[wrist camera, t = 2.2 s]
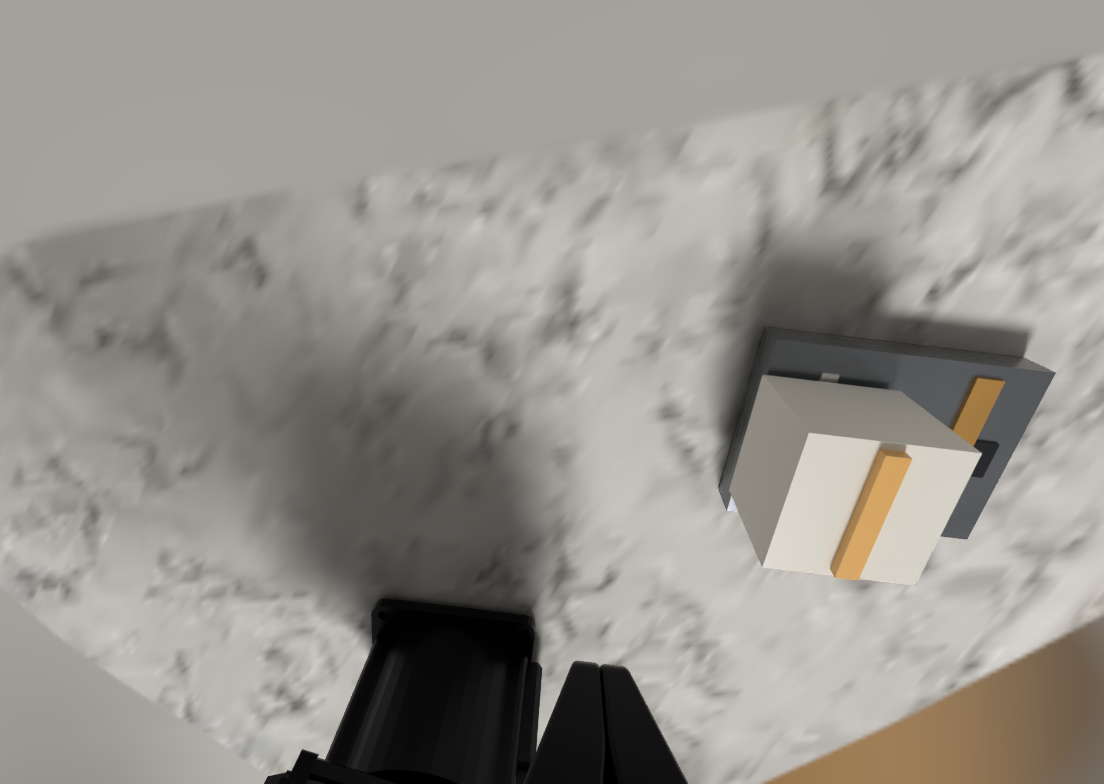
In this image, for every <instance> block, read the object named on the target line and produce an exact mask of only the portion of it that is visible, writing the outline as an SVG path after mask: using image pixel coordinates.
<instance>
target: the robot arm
mask: <svg viewBox="0 0 1104 784" xmlns="http://www.w3.org/2000/svg"><path fill="white" fill-rule="evenodd" d="M384 611H385V612H384ZM386 612H388V613H386ZM371 617H372V643H373V646H372V648H371V651H370V653H369V656H368V658H367V660H366V663H365V665H364V668H363V670H362V672H361V675H360V677H359V680H358V682H357V684H356V687H355V689H354V692H353V694H352V696H351V699H350V701H349V704H348V706H347V708H346V711H345V713H344V716H343V718H342V720H341V723H340V725H339V728H338V730H337V732H336V735H335V737H334V740H333V742H332V744H331V747H330V749H329V752H328V754H327V756H326V759H325V760H324V759H321V758H318V755H319V754H317V753H313V752H310V751H307V750H304V749H302V751H301V753H300V755H299V757H298V759H297V761H296V763H295V765H294V767H293V769H292V771H289V770H287V772H286V773H281V774H277V775H272V776H268V777H267V779H266V781H265V783H264V784H688V782H687V780H686V779H685V777H684V775H683V773H682V771H681V769H680V767H679V765H678V763H677V761H676V759H675V758H674V756H673V754H672V752H671V750H670V748H669V746H668V744H667V742H666V740H665V739H664V737H663V735H662V733H661V731H660V729H659V727H658V725H657V723H656V721H655V719H654V718H653V716H652V714H651V712H650V710H649V708H648V706H647V704H646V702H645V700H644V698H643V697H642V695H641V693H640V691H639V689H638V687H637V685H636V683H635V681H634V679H633V678H632V676H631V674H630V672H629V670H628V669H627V668H626V667H624V666H617V665H609V664H603V665H601V666H600V667H599V665H598V664H596V663H592V662H584V661H575V662H573V664H572V666H571V668H570V670H569V673H568V675H567V678H566V680H565V683H564V685H563V687H562V690H561V692H560V695H559V697H558V700H557V702H556V705H555V707H554V710H553V712H552V714H551V717H550V719H549V722H548V724H547V727H546V729H545V732H544V734H543V737H542V739H541V741H540V744H539V746H538V749H537V751H536V745H537V732H538V718H539V705H540V691H541V678H542V667H541V666H540V664H539V663H538V662H533V661H531V658H532V651H533V643H534V635H535V621H534V620H533V619H532V618H531V617H529V616H526V615H519V614H511V613H502V612H494V611H486V610H477V609H469V608H460V607H452V606H443V605H435V604H427V603H418V602H410V601H401V600H393V599H381V600H378V601H377V602H376V604H375V606H374V608H373V610H372V614H371ZM521 628H526V629H521Z"/></svg>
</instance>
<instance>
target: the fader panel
mask: <svg viewBox="0 0 1104 784" xmlns="http://www.w3.org/2000/svg"><path fill="white" fill-rule="evenodd" d="M762 375H770V376H778V377H787V378H795V379H804V380H812V381H820V382H829V383H837V384H845V385H854V386H862V387H871V388H879V389H887V390H896V391H901V392H902V393H904V394H905V395H906V396H908V397H909V398H910V399H912V400H913V401H914V402H916V403H917V404H918V405H919V406H921V407H922V408H923V409H925V410H926V411H927V412H929V413H930V414H931V415H933V416H934V417H935V418H936V419H938V420H939V421H940V422H942V423H943V424H944V425H946V426H947V427H948V428H950V429H951V430H952V431H953V432H955V433H956V434H957V435H959V436H960V437H961V438H963V439H964V440H965V441H967V442H968V443H969V444H970V445H972V446H973V447H974V448H976V449H977V450H978V451H980V452H981V453H982V455H981V457H980V459H979V461H978V462H977V464H976V466H975V468H974V470H973V472H972V474H971V476H970V478H969V480H968V482H967V484H966V486H965V488H964V490H963V492H962V494H961V496H960V498H959V500H958V502H957V504H956V506H955V508H954V510H953V512H952V514H951V516H950V518H949V520H948V522H947V524H946V526H945V528H944V530H943V532H942V534H941V536H942V537H951V538H959V539H968V537H969V535H970V533H971V531H972V529H973V527H974V525H975V524H976V522H977V520H978V518H979V516H980V514H981V512H982V510H983V509H984V507H985V505H986V503H987V501H988V499H989V497H990V495H991V493H992V492H993V490H994V488H995V486H996V484H997V482H998V480H999V478H1000V477H1001V475H1002V473H1003V471H1004V469H1005V467H1006V465H1007V463H1008V462H1009V460H1010V458H1011V456H1012V454H1013V452H1014V450H1015V448H1016V447H1017V445H1018V443H1019V441H1020V439H1021V437H1022V435H1023V433H1024V432H1025V430H1026V428H1027V426H1028V424H1029V422H1030V420H1031V418H1032V416H1033V415H1034V413H1035V411H1036V409H1037V407H1038V405H1039V403H1040V401H1041V400H1042V398H1043V396H1044V394H1045V392H1046V390H1047V388H1048V386H1049V385H1050V383H1051V381H1052V379H1053V377H1054V375H1055V372H1053V371H1051V370H1049V369H1047V368H1045V367H1043V366H1041V365H1039V364H1037V363H1034V362H1032V361H1030V360H1028V359H1026V358H1022V357H1013V356H1005V355H997V354H988V353H980V352H971V351H963V350H955V349H946V348H938V347H930V346H921V345H913V344H904V343H896V342H888V341H879V340H871V339H863V338H854V337H846V336H837V335H829V334H821V333H812V332H804V331H796V330H787V329H779V328H770V327H764V331H763V334H762V338H761V341H760V345H759V349H758V352H757V356H756V359H755V363H754V366H753V370H752V373H751V377H750V380H749V384H748V387H747V391H746V395H745V398H744V402H743V405H742V409H741V412H740V416H739V419H738V423H737V426H736V430H735V434H734V437H733V441H732V444H731V448H730V451H729V455H728V458H727V462H726V465H725V469H724V473H723V476H722V480H721V483H720V487H719V492H720V495H721V497H722V500H723V502H724V505H725V507H726V510H727V511H732V512H738V510H737V507H736V505H735V503H734V500H733V498H732V496H731V494H730V491H729V488H730V485H731V481H732V478H733V475H734V471H735V468H736V464H737V461H738V457H739V454H740V451H741V447H742V444H743V440H744V437H745V433H746V430H747V427H748V423H749V420H750V416H751V413H752V409H753V406H754V403H755V399H756V396H757V392H758V389H759V385H760V382H761V379H762Z"/></svg>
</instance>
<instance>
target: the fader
mask: <svg viewBox="0 0 1104 784" xmlns="http://www.w3.org/2000/svg"><path fill="white" fill-rule="evenodd" d="M981 455H982V453H981V452H980V451H978V450H977V449H976V448H974V447H973V446H972V445H970V444H969V443H968V442H967V441H965V440H964V439H963V438H961V437H960V436H959V435H957V434H956V433H955V432H953V431H952V430H951V429H950V428H948V427H947V426H946V425H944V424H943V423H942V422H940V421H939V420H938V419H936V418H935V417H934V416H933V415H931V414H930V413H929V412H927V411H926V410H925V409H923V408H922V407H921V406H919V405H918V404H917V403H916V402H914V401H913V400H912V399H910V398H909V397H908V396H906V395H905V394H904V393H902V392H901V391H896V390H887V389H879V388H871V387H862V386H854V385H845V384H837V383H829V382H820V381H812V380H804V379H795V378H787V377H778V376H770V375H762V379H761V382H760V385H759V389H758V392H757V396H756V399H755V403H754V406H753V409H752V413H751V416H750V420H749V423H748V427H747V430H746V433H745V437H744V440H743V444H742V447H741V451H740V454H739V457H738V461H737V464H736V468H735V471H734V475H733V478H732V481H731V485H730V488H729V491H730V494H731V496H732V498H733V500H734V503H735V505H736V507H737V510H738V512H739V514H740V517H741V519H742V521H743V524H744V526H745V528H746V531H747V533H748V535H749V538H750V540H751V542H752V545H753V547H754V549H755V551H756V554H757V556H758V558H759V561H760V563H761V565H762V567H763V568H772V569H780V570H789V571H797V572H805V573H814V574H822V575H831V576H834V577H835V578H843V579H851V580H859V579H864V580H873V581H881V582H889V583H898V584H906V585H916V583H917V581H918V579H919V577H920V575H921V573H922V571H923V569H924V567H925V565H926V563H927V561H928V559H929V557H930V555H931V554H932V552H933V550H934V548H935V546H936V544H937V542H938V540H939V538H940V536H941V534H942V532H943V530H944V528H945V526H946V524H947V522H948V520H949V518H950V516H951V514H952V512H953V510H954V508H955V506H956V504H957V502H958V500H959V498H960V496H961V494H962V492H963V490H964V488H965V486H966V484H967V482H968V480H969V478H970V476H971V474H972V472H973V470H974V468H975V466H976V464H977V462H978V461H979V459H980V457H981Z"/></svg>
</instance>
